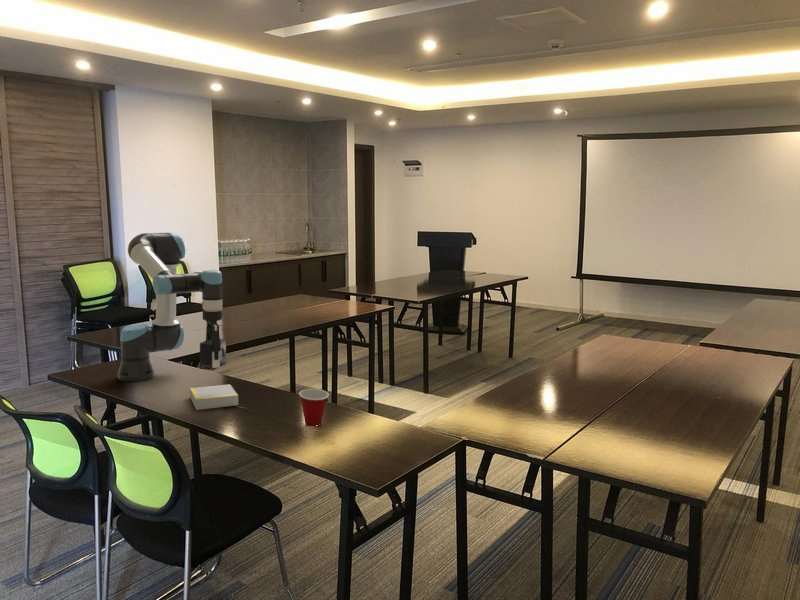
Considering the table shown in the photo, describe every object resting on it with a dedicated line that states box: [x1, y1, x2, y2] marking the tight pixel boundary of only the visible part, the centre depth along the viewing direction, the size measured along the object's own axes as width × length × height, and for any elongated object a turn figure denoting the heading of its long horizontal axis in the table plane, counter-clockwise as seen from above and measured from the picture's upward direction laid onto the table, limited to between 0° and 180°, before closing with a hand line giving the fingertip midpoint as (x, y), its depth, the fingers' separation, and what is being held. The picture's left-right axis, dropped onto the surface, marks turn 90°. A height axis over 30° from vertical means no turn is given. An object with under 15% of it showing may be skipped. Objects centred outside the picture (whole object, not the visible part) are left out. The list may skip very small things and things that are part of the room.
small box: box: [199, 338, 227, 371], centre depth 250 cm, size 11×6×10 cm, turn 168°
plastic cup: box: [298, 388, 330, 427], centre depth 230 cm, size 11×11×12 cm
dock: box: [189, 384, 239, 411], centre depth 253 cm, size 16×16×4 cm
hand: (213, 363), depth 250 cm, fingers closed on small box, 12 cm apart
